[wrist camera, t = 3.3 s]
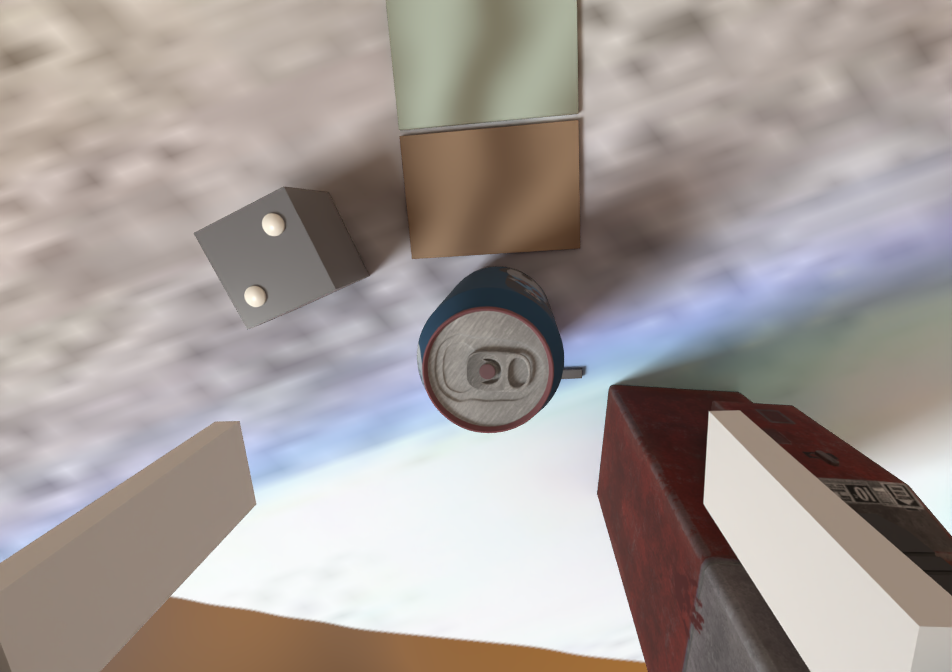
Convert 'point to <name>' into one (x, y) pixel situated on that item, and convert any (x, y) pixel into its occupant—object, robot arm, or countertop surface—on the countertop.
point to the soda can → (491, 351)
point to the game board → (492, 149)
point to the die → (281, 253)
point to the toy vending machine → (699, 538)
